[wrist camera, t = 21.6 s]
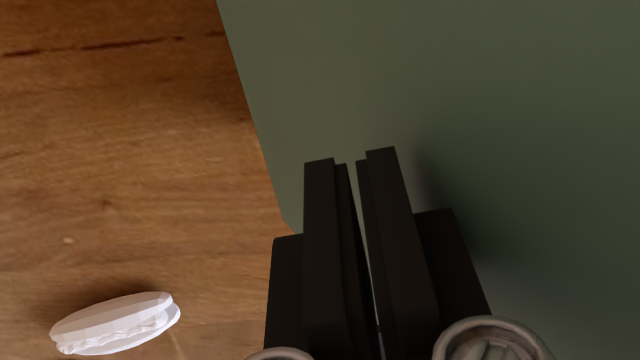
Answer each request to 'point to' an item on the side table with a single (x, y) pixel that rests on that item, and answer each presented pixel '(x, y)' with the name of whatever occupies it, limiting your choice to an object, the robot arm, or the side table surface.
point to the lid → (473, 137)
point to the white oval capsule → (115, 324)
